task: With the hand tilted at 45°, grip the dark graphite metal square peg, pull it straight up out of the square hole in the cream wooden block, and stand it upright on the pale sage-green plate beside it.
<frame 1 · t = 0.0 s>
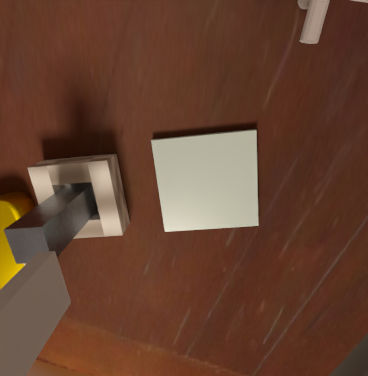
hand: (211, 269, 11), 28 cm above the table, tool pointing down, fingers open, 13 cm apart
peg: (85, 194, 40), point 1 cm above the table, touching socket block
plate: (206, 182, 39), on the table
pipe connector: (305, 0, 31), on the table
socket block: (88, 192, 41), on the table
element tile: (8, 236, 46), on the table
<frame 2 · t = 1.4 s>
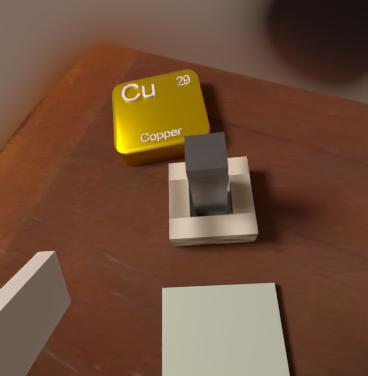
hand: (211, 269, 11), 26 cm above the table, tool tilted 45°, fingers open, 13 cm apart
peg: (210, 204, 39), point 1 cm above the table, touching socket block
plate: (222, 349, 32), on the table
socket block: (211, 206, 40), on the table
element tile: (163, 125, 48), on the table
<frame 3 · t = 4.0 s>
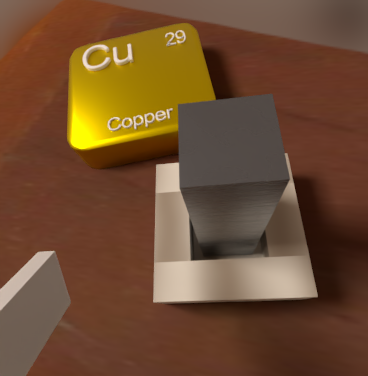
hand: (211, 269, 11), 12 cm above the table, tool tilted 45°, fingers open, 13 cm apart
peg: (225, 232, 23), point 1 cm above the table, touching socket block
socket block: (225, 235, 24), on the table
element tile: (146, 108, 32), on the table
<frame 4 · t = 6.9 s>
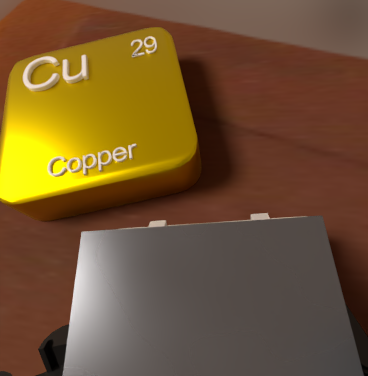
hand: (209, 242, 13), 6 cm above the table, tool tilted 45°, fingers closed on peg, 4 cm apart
peg: (217, 326, 16), point 1 cm above the table, touching gripper, socket block
element tile: (111, 135, 25), on the table
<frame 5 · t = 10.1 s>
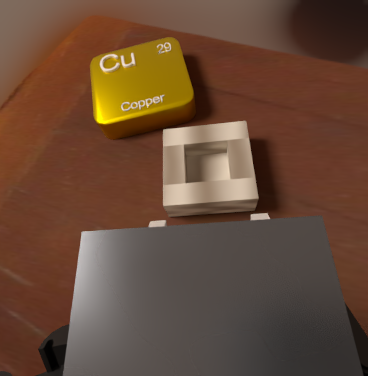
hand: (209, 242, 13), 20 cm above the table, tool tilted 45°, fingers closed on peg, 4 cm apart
peg: (217, 326, 16), point 15 cm above the table, touching gripper
socket block: (208, 175, 37), on the table
element tile: (145, 98, 46), on the table
when the fingers open (8 cm above the table, at t = 13.6 s): peg drops 1 cm, resting on plate.
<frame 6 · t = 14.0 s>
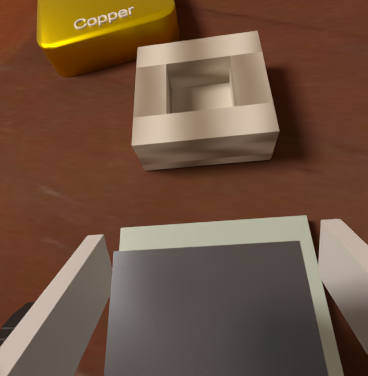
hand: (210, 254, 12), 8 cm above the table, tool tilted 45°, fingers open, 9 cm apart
peg: (218, 326, 18), point 1 cm above the table, touching plate
plate: (218, 324, 19), on the table
socket block: (202, 115, 26), on the table
element tile: (114, 28, 35), on the table
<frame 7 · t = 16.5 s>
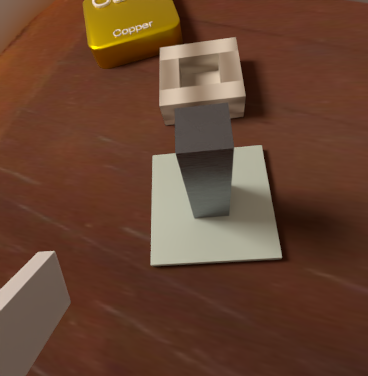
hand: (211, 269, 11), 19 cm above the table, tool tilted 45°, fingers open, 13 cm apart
peg: (210, 200, 32), point 1 cm above the table, touching plate
plate: (210, 203, 33), on the table
socket block: (201, 91, 41), on the table
element tile: (135, 34, 49), on the table
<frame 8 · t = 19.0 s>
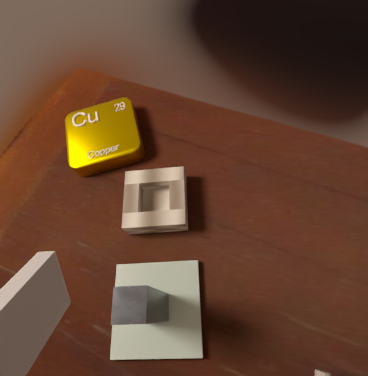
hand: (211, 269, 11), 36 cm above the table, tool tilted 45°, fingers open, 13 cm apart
peg: (156, 307, 43), point 1 cm above the table, touching plate
plate: (157, 307, 44), on the table
socket block: (158, 204, 52), on the table
element tile: (108, 142, 60), on the table
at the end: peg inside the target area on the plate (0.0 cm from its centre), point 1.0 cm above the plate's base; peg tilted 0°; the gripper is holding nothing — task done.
